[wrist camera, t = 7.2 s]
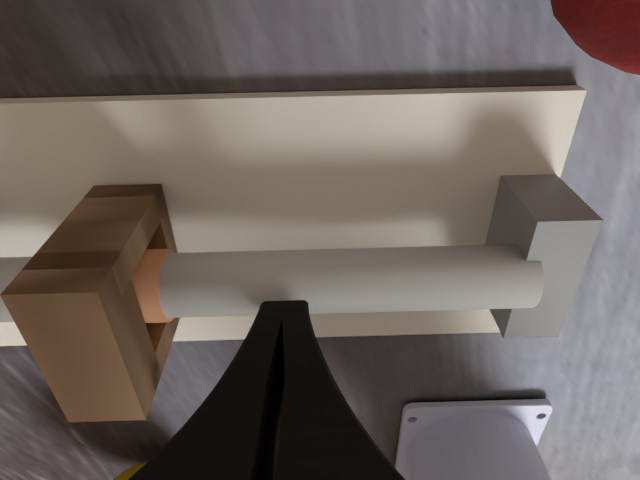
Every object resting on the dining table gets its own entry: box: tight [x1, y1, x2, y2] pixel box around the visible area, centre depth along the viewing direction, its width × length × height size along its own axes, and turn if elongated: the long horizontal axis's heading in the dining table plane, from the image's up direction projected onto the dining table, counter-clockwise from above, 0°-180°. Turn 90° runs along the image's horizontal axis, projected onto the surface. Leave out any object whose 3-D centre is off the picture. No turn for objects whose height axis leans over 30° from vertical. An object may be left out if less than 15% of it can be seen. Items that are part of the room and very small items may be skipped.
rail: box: [0, 85, 603, 346], centre depth 16 cm, size 24×11×4 cm, turn 91°
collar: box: [0, 184, 180, 422], centre depth 15 cm, size 2×5×6 cm, turn 1°
